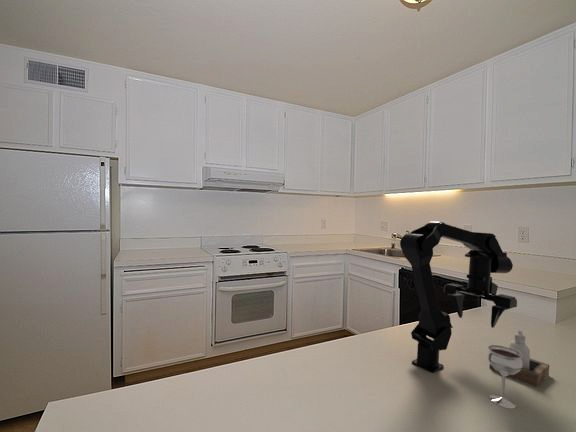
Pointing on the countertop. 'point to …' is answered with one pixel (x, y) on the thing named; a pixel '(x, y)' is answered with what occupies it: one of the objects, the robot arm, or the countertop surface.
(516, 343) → the eye dropper bottle
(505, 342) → the countertop surface
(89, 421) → the countertop surface
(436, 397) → the countertop surface
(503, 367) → the wineglass
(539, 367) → the rubber-lined collar
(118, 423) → the countertop surface
